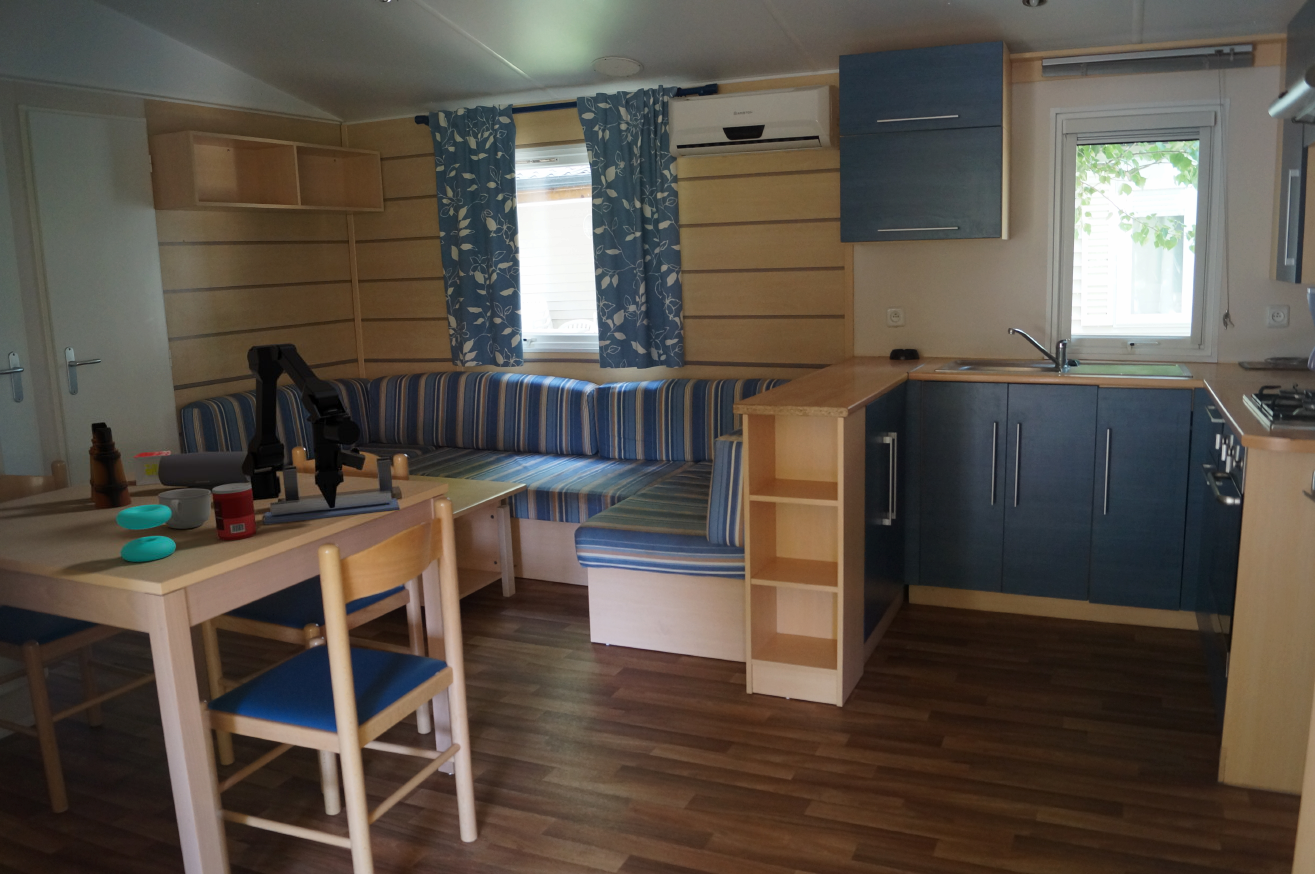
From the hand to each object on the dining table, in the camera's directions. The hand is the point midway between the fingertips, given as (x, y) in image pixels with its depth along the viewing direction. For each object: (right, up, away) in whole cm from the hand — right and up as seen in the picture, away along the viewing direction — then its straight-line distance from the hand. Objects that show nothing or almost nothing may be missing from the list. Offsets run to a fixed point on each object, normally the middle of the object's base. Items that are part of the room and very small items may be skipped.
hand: (332, 506), depth 232 cm
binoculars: (-64, -1, +22) cm, 68 cm away
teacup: (-30, -4, -9) cm, 32 cm away
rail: (0, 0, 0) cm, 0 cm away
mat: (0, -1, 0) cm, 1 cm away
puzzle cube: (-65, +4, +46) cm, 80 cm away
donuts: (-27, -8, -32) cm, 42 cm away
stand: (-2, 0, +11) cm, 11 cm away
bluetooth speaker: (-44, +2, +33) cm, 55 cm away
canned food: (-15, -5, -18) cm, 24 cm away
